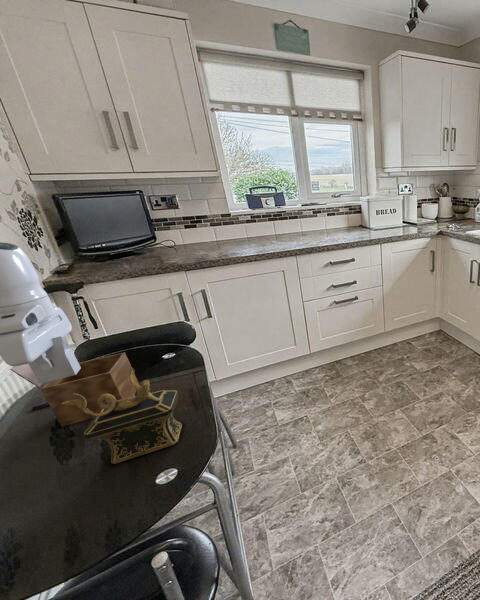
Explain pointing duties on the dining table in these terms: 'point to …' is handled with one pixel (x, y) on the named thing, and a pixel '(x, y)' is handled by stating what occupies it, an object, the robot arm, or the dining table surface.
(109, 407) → the decorative box
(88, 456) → the dining table surface
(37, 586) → the dining table surface
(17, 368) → the flap
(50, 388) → the carton
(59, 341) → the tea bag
